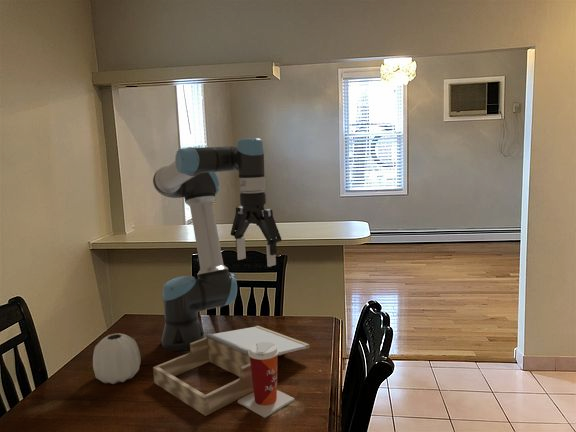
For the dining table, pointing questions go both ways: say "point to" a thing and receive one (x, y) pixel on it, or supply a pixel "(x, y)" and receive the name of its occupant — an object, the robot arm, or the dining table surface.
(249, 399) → the stone tile
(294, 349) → the lid
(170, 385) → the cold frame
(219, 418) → the dining table surface
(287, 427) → the dining table surface
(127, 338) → the vase
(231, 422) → the dining table surface
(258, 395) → the coffee cup
